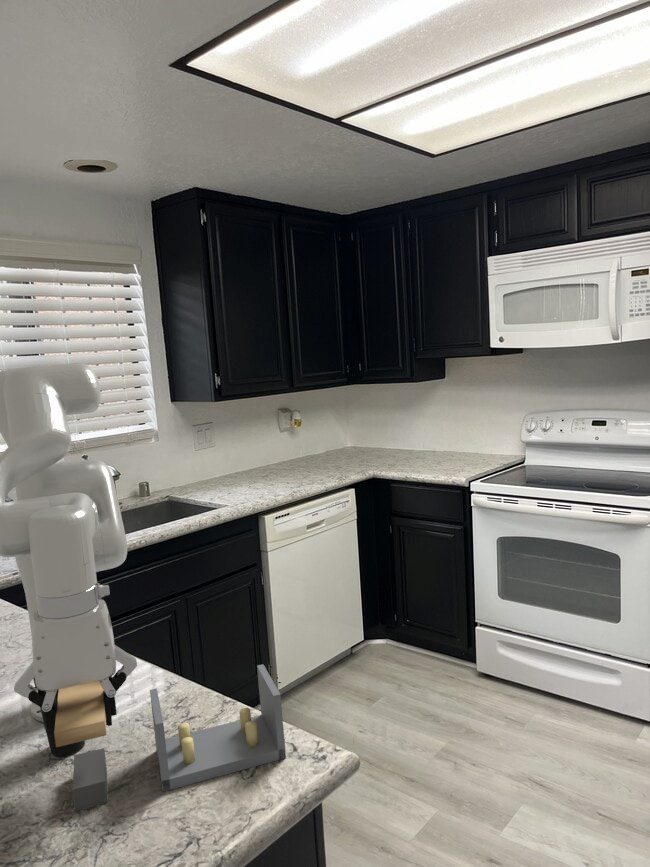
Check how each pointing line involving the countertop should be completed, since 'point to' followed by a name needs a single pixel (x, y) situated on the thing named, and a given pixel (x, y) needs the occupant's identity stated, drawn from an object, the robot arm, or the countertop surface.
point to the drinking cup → (55, 751)
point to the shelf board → (80, 714)
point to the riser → (89, 779)
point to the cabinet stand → (221, 741)
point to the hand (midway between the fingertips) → (83, 725)
